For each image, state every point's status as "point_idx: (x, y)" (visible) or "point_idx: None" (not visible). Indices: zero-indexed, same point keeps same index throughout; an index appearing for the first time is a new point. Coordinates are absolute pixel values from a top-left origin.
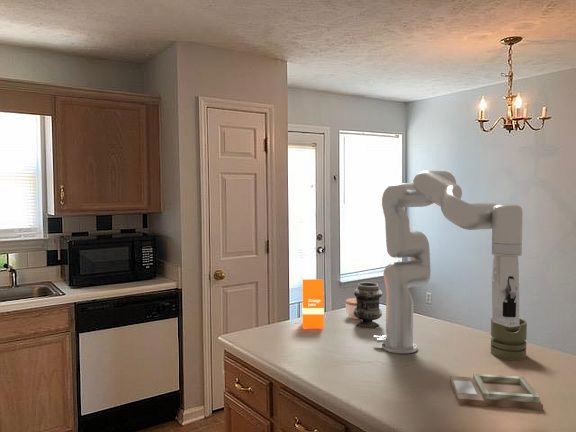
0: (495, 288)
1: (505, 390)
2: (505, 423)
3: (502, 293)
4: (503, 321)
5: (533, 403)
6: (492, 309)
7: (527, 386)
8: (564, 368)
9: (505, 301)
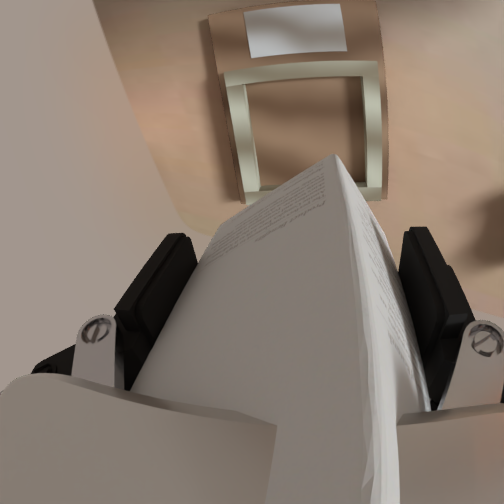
0: (193, 419)
1: (305, 134)
2: (151, 116)
3: (165, 393)
4: (240, 217)
5: (240, 185)
6: (335, 185)
7: None
8: (474, 299)
9: (84, 324)
